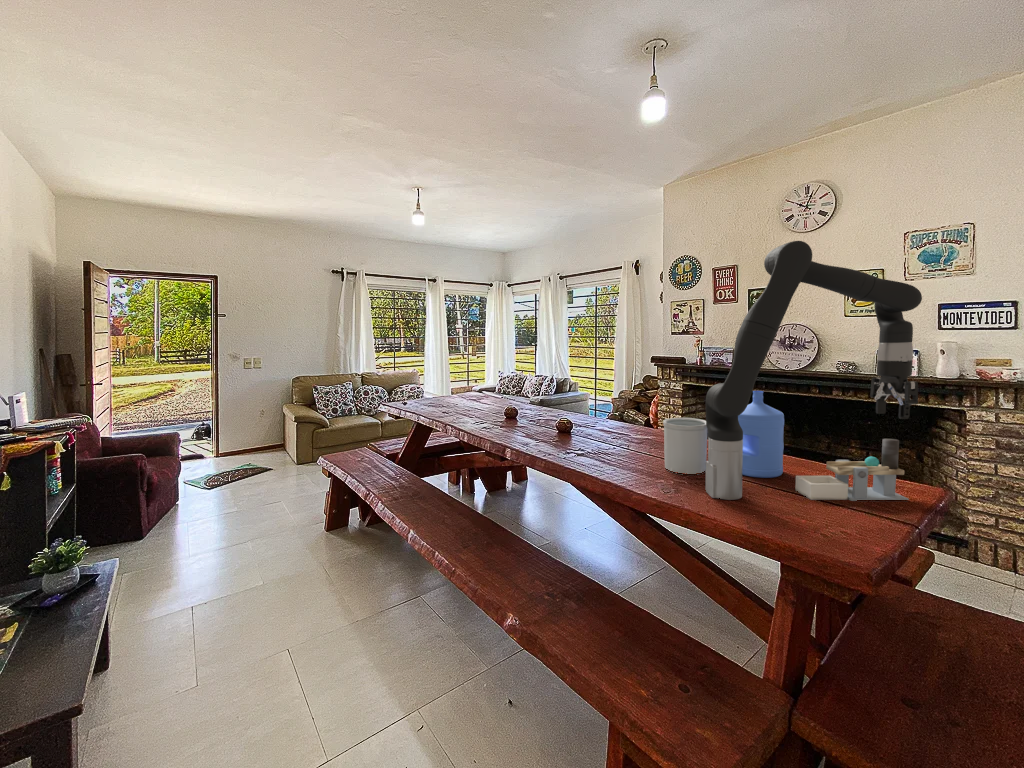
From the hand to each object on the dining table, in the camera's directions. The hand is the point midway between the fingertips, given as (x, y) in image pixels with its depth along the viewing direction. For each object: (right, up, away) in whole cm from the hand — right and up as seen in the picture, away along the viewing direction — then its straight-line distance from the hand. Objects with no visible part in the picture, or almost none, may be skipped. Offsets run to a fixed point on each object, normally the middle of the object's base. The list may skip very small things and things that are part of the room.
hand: (891, 416), depth 125 cm
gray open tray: (-17, -23, +4) cm, 29 cm away
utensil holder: (-46, -22, +33) cm, 60 cm away
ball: (-4, -13, +2) cm, 14 cm away
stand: (-5, -23, +3) cm, 24 cm away
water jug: (-23, -22, +28) cm, 42 cm away
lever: (-6, -16, +2) cm, 17 cm away
